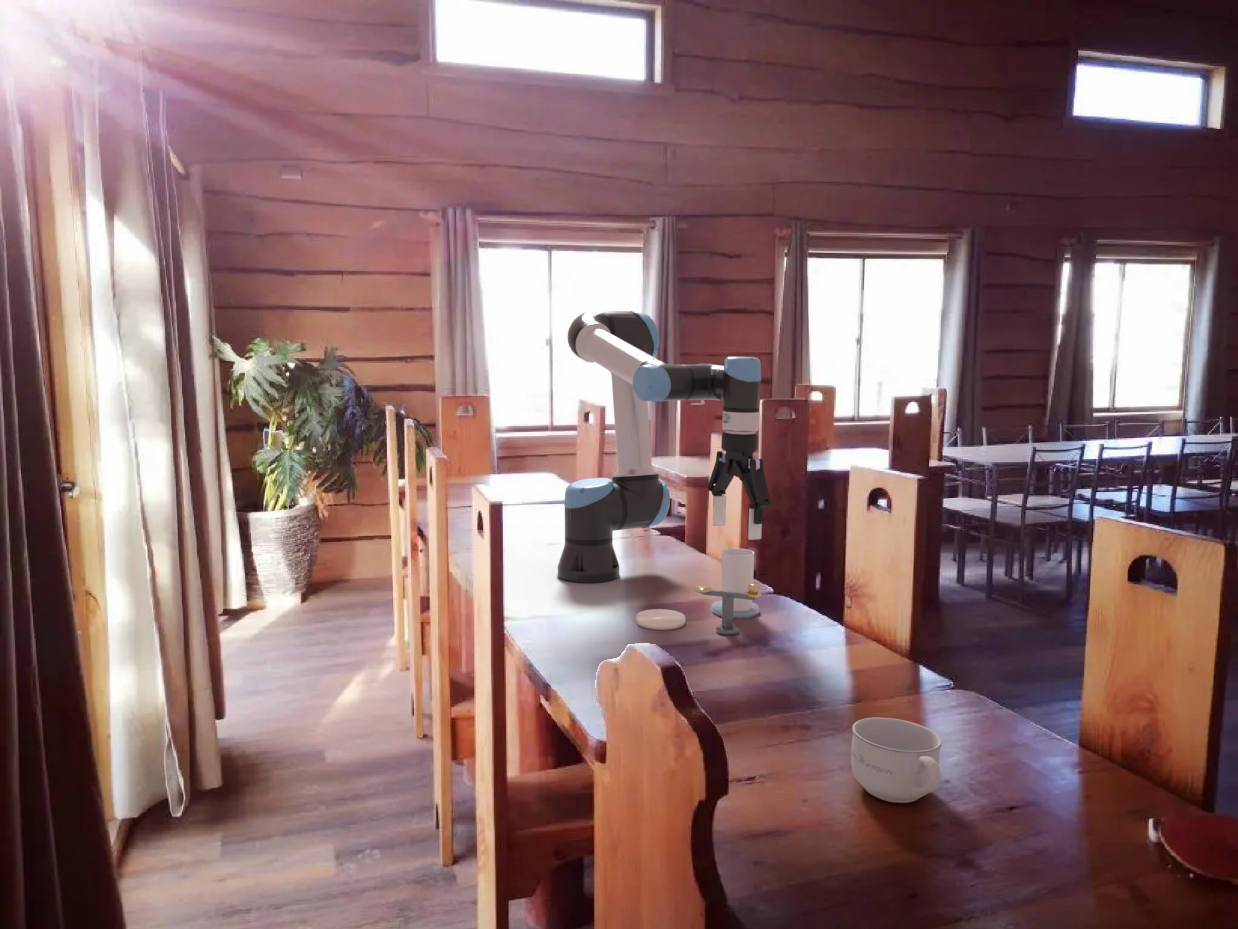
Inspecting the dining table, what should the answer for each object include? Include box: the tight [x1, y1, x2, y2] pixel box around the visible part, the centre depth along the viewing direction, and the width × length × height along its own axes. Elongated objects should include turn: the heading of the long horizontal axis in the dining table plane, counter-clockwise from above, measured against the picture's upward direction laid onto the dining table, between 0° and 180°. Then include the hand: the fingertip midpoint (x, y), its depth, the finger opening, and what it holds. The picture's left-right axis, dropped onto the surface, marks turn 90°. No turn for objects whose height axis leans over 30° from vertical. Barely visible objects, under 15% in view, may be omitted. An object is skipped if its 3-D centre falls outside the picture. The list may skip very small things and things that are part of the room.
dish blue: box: [711, 599, 760, 619], centre depth 189 cm, size 10×10×1 cm
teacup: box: [850, 716, 943, 804], centre depth 111 cm, size 14×11×8 cm
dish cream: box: [635, 608, 686, 631], centre depth 181 cm, size 10×10×1 cm
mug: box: [721, 547, 755, 612], centre depth 188 cm, size 10×7×12 cm, turn 10°
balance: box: [694, 582, 762, 637], centre depth 175 cm, size 4×15×10 cm, turn 116°
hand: (736, 532), depth 187 cm, fingers open, 13 cm apart
